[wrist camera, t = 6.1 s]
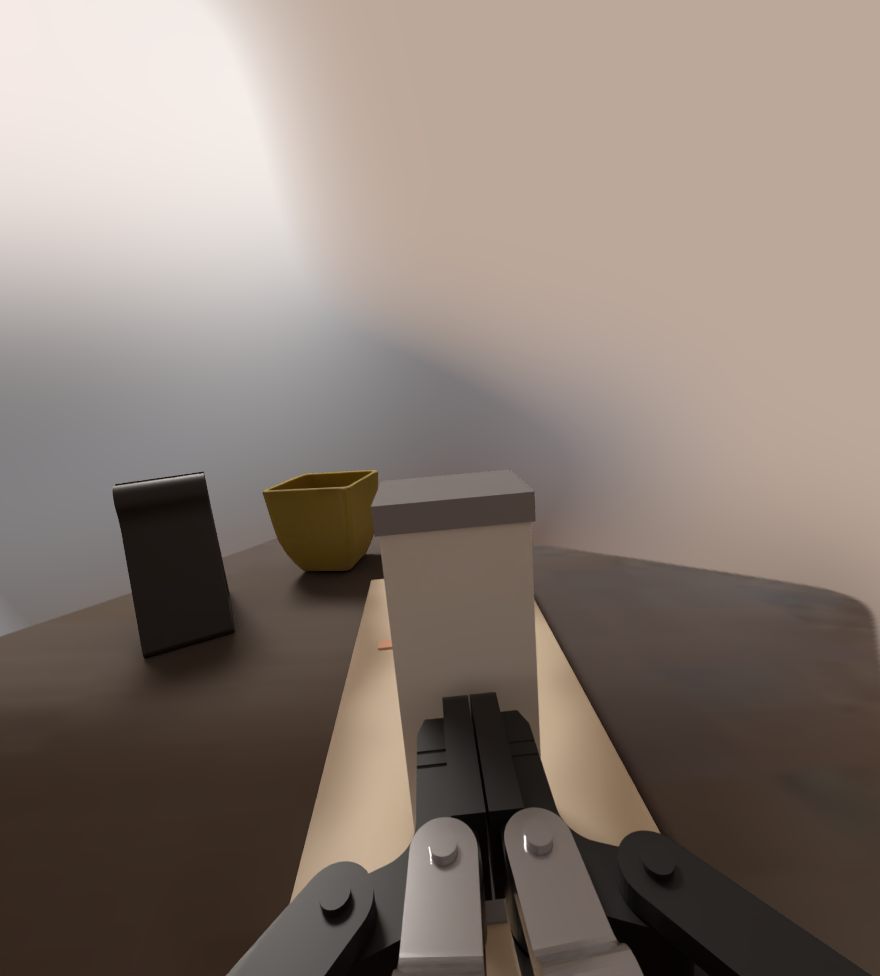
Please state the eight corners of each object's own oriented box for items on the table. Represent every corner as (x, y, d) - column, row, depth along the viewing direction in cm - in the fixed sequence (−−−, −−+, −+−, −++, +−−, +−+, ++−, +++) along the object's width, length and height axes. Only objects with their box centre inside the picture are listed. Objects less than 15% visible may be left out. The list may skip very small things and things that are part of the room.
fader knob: (415, 870, 14) (370, 506, 11) (416, 783, 17) (381, 481, 15) (548, 855, 14) (534, 491, 12) (525, 771, 17) (509, 469, 15)
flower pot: (316, 548, 52) (304, 472, 50) (388, 547, 50) (379, 468, 49) (275, 581, 44) (259, 491, 42) (360, 581, 42) (348, 487, 40)
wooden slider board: (252, 1176, 10) (235, 1113, 10) (374, 602, 38) (371, 578, 37) (770, 1110, 10) (777, 1046, 10) (517, 588, 38) (515, 564, 37)
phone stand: (155, 609, 40) (123, 477, 37) (229, 591, 42) (204, 465, 40) (143, 659, 32) (100, 496, 29) (234, 633, 34) (203, 480, 32)
